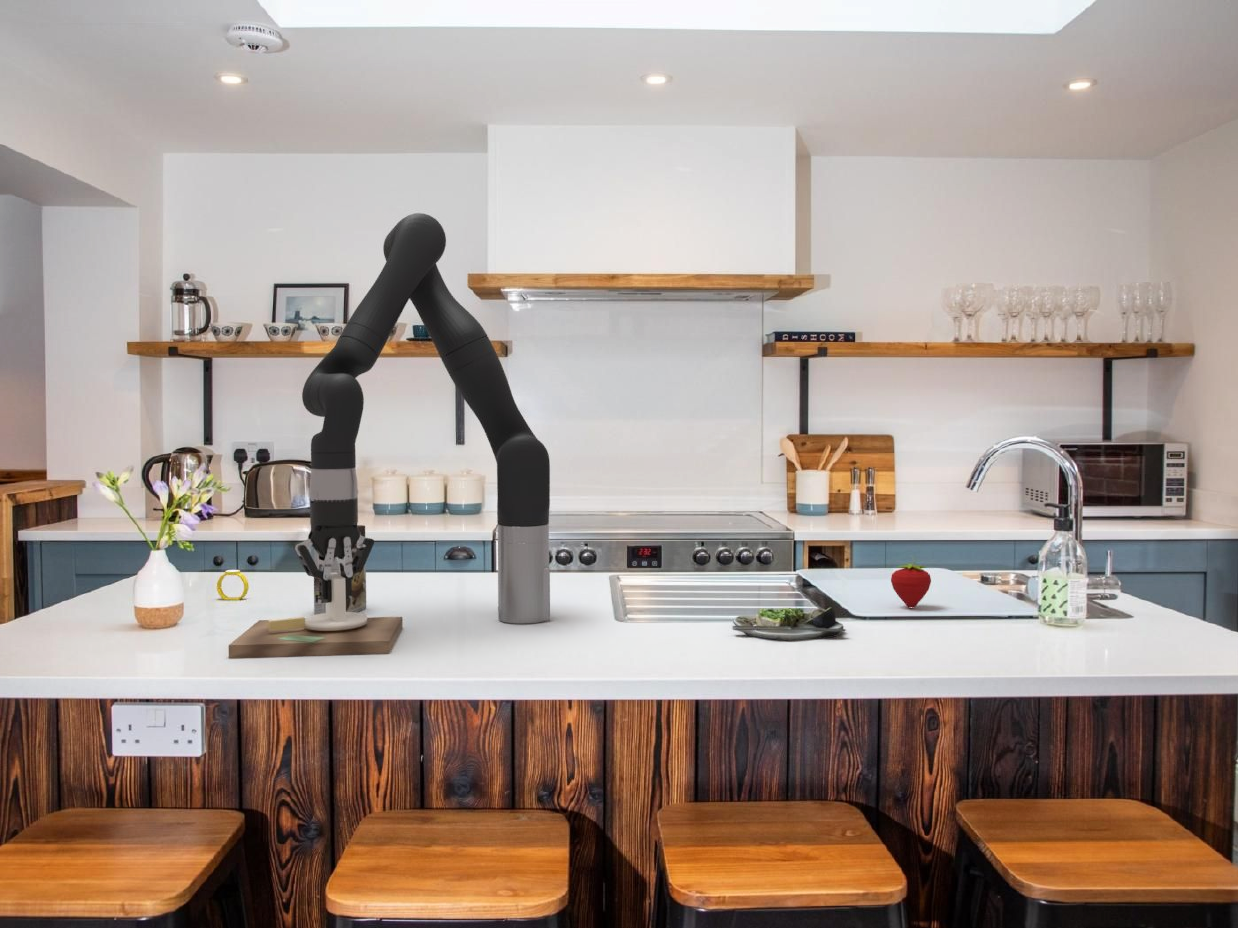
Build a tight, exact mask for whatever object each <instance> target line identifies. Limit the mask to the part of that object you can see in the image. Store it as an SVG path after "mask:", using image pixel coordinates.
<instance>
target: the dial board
mask: <svg viewBox="0 0 1238 928" xmlns="http://www.w3.org/2000/svg"><path fill="white" fill-rule="evenodd" d="M403 619H404V618H403V616H380V617H379V616H377V617H376V616H375V617H371V616H370V617H367V624H365V625H363V626H361V627H357V628H352V629H346V630H335V631H318V630H310V629H307V628H299V629H289V630H279V631H270V632H269V629H268V620H269V619H259V620H258V621H257V622H255V623H254V624H253V625H252V626H250V627H249V628H248V629H246V630H245V631H244V632H243V633H241V635H239V636H238V637H237V638H235V639H234V640H233V641H232V642H231V643H229V644H228V658H229V659H239V658H240V659H242V658H244V659H246V658H251V659H252V658H273V657H274V658H277V657H278V658H279V657H280V658H281V657H286V658H287V657H311V656H312V657H316V656H318V657H320V656H346V655H347V656H348V655H349V656H352V655H375V654H376V655H379V654H380V655H381V654H382V655H383V654H384V655H385V654H386V655H387V654H390V652H392V649H393V647H394V646H395V643H396V642H397V640H398V638H399V636H400V634H401V632H402V630H403Z"/></svg>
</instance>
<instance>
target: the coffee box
mask: <svg viewBox="0 0 1238 928" xmlns="http://www.w3.org/2000/svg"><path fill="white" fill-rule="evenodd" d="M357 528H358V530H359V532H360V535H361V536H364V537H366V525H364V524H363V525H362V524H361V525H360V524H357ZM312 547H313V546H312ZM312 551H313V561H314V562H315V564H316V566H317V568H318V564H317V556H318V553H317V551H316V550H315V549H314V547H313V550H312ZM356 551H357V543H356V544H355V546H354V547H353V549H352V551H351V552H352V560H353V557H354V555H355V553H356ZM366 566H367V562H366V563H365V565H364V568H363V570H362V571H361V572H358V573H356V574H354V575H353V576H352V594H351V596H349V600H346V612H357V613H360V612H361V611H364V610H366V609H367V571H366V570H367V568H366ZM335 572H336V573H338V574H339V575H340V572H339V565H338V562H337V560H336V557H335V558H334V559H333V565H332V566H331V573H335ZM322 613H326V602H323V601H322V599H320V597H319V580H318V578H315V577H313V615H317V614H322Z"/></svg>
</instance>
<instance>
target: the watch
mask: <svg viewBox="0 0 1238 928" xmlns="http://www.w3.org/2000/svg"><path fill="white" fill-rule="evenodd" d="M226 576H237V577H239V578H240V580H241V581H242V583H243V591H242V594H241V595H240V596H238V597H229V596H227V595H226V594H225V593H224V591H223V589H222V582H223V580H224V578H225V577H226ZM248 591H249V581H248V579H247V577H246V575H244V574H243V573H242V572H241V570H240V569H228V570H225V571H224V573H223V574H221V575H220V576H219V578H218V580H217V582H216V592H217V593H218V595H219V597H220V598H222V600H224V601H240V600H242V599H243V598H245V597H246V596H247V594H248Z"/></svg>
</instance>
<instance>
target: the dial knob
mask: <svg viewBox="0 0 1238 928" xmlns="http://www.w3.org/2000/svg"><path fill="white" fill-rule="evenodd" d="M329 580H331V585H332V601H331V602H329V603H326V613H322V614H317V615H314V614H312V615H309V616H307V617H305V616H299V617H293V618H292V617H291V618H281V619H267V620H268V629H269V632H270V631H279V630H289V629H299V628H307V629H310V630H318V631H335V630H346V629H352V628H357V627H361V626H363V625H365V624H367V618H368V615H367V614H365V613H362V612H346V589H345V578H344V577H342V576H341V575H339V574H338V573H336V572H335V573H331V575H330V579H329Z"/></svg>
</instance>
